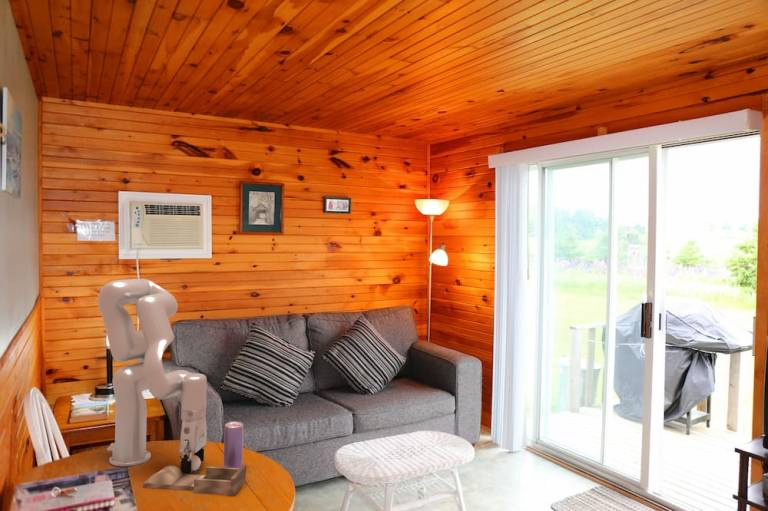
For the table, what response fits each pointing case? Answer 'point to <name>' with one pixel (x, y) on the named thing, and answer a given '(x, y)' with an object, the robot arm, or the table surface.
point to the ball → (195, 463)
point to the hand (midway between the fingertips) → (192, 466)
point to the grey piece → (195, 471)
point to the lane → (199, 480)
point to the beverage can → (233, 445)
